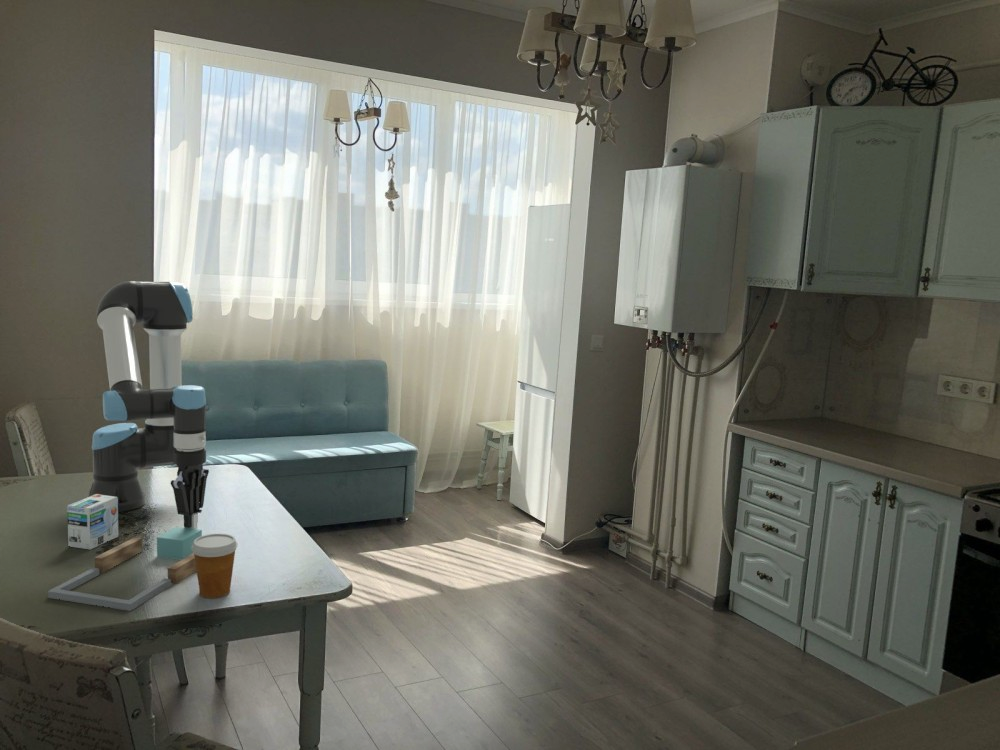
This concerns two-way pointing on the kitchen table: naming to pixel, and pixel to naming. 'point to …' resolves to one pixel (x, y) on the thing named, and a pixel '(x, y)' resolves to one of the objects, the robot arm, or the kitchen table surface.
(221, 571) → the disposable coffee cup
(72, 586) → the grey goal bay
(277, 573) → the kitchen table surface
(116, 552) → the wooden guide rails
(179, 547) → the teal block
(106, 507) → the light bulb box
